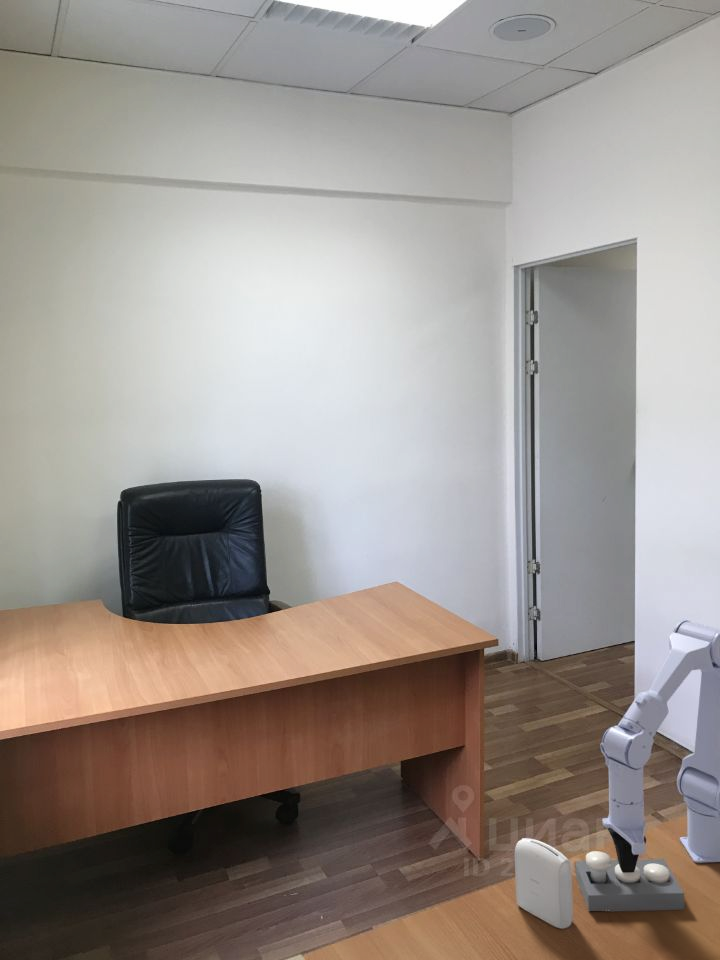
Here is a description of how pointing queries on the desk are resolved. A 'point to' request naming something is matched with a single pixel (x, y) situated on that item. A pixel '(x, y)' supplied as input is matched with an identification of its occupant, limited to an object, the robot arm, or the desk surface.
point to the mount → (629, 890)
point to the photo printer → (544, 882)
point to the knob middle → (627, 875)
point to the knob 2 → (656, 873)
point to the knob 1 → (598, 865)
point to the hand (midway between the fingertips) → (627, 870)
